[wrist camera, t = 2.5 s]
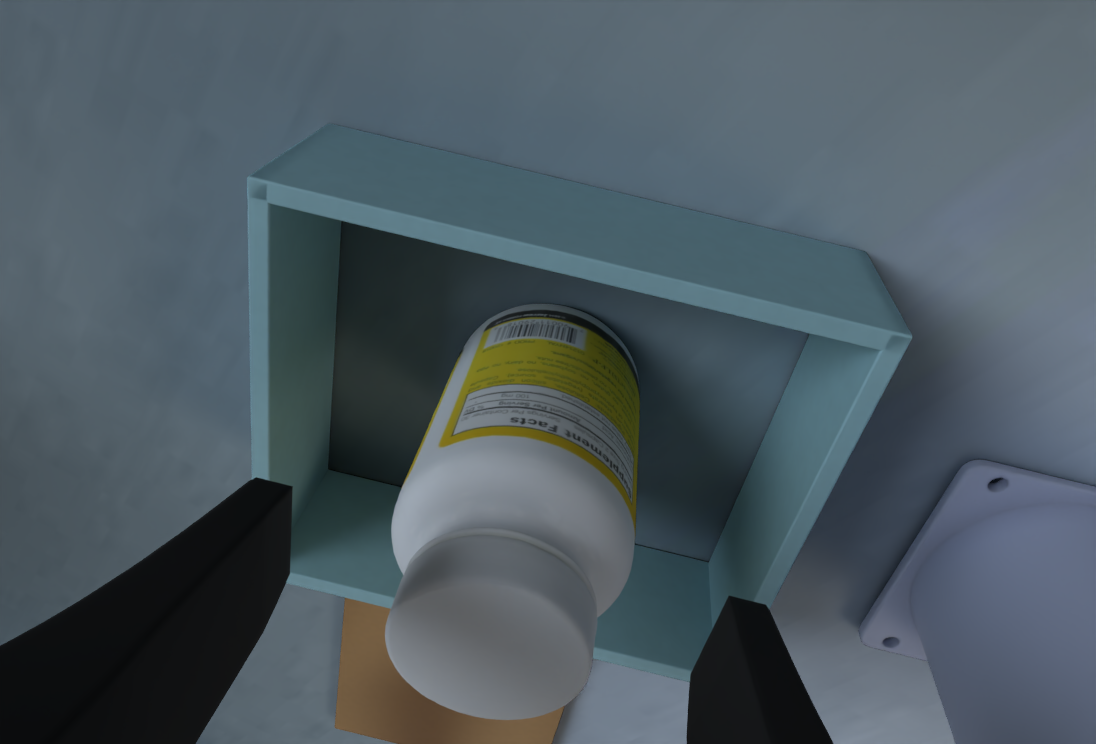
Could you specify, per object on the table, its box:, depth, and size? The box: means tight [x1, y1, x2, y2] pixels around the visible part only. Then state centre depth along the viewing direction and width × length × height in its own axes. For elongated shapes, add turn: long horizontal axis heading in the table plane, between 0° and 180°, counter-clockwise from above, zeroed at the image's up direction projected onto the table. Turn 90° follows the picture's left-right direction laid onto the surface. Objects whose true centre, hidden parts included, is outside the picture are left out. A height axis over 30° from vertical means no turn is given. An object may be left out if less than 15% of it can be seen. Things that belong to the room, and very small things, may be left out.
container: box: [247, 123, 912, 682], centre depth 21 cm, size 14×12×4 cm
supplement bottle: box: [385, 304, 640, 720], centre depth 19 cm, size 5×5×10 cm
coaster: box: [335, 598, 565, 744], centre depth 31 cm, size 9×9×1 cm
